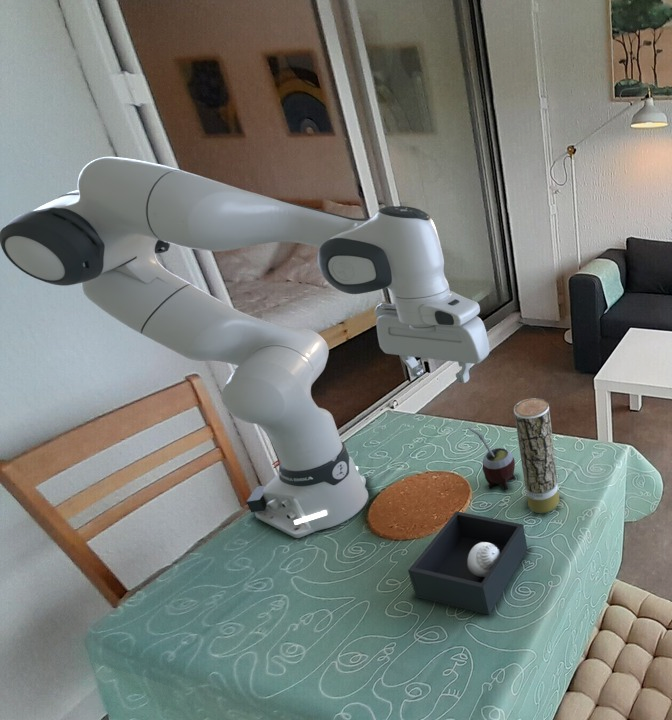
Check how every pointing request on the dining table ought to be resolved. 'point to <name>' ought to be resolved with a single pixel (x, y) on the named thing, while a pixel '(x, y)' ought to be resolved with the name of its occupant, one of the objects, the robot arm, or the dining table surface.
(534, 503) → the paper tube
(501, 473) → the mate gourd
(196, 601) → the dining table surface
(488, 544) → the white rounded piece
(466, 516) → the bin
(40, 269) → the robot arm
